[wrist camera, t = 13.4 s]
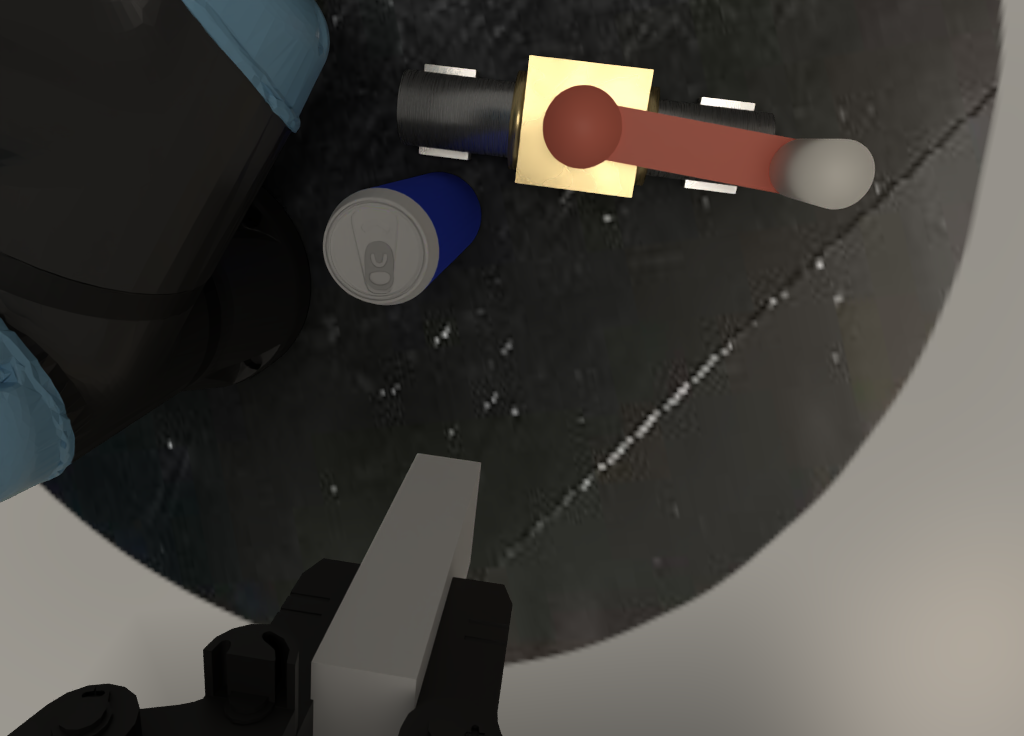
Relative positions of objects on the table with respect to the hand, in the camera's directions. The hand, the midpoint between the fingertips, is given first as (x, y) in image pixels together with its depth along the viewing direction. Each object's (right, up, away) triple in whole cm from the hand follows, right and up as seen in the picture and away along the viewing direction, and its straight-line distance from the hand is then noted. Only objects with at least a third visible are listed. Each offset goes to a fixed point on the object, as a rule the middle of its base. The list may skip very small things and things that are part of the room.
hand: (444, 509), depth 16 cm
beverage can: (-3, +13, +27) cm, 30 cm away
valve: (+6, +18, +25) cm, 31 cm away
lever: (+10, +14, +16) cm, 23 cm away
